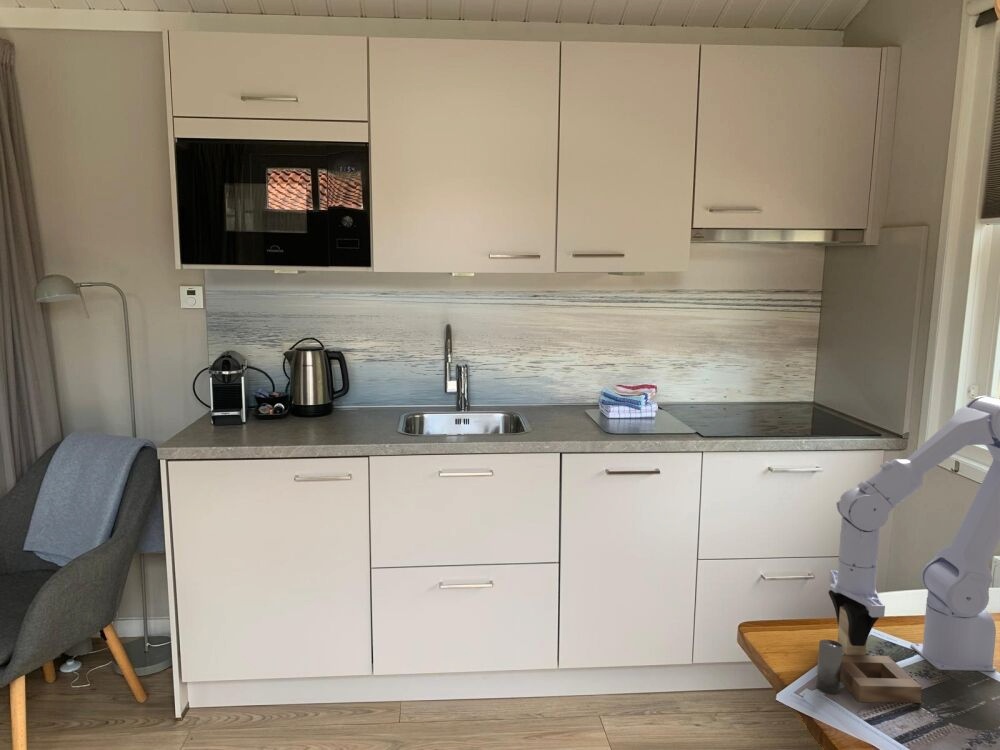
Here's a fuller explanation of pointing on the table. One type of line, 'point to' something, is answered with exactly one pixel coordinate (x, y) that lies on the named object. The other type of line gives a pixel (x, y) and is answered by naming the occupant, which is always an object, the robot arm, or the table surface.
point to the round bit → (829, 666)
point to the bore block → (878, 680)
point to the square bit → (847, 636)
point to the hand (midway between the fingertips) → (851, 639)
